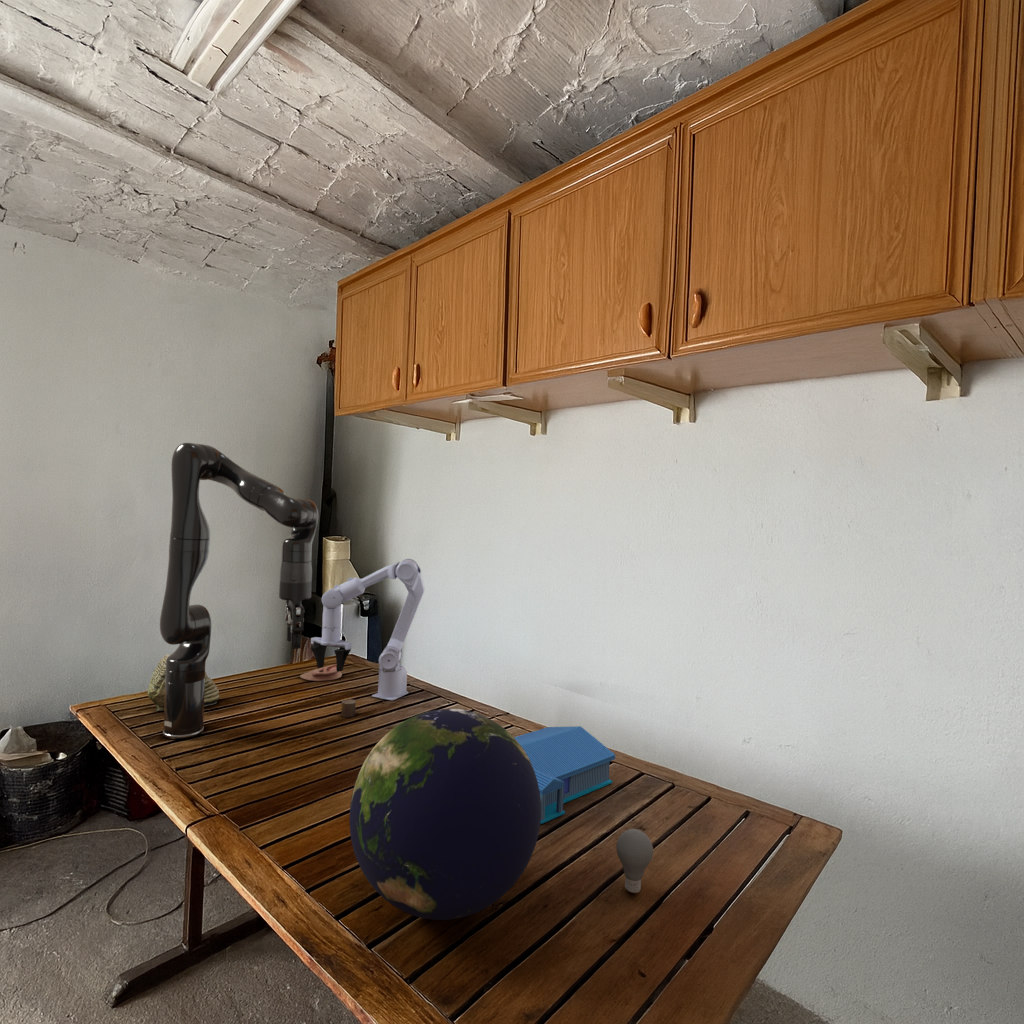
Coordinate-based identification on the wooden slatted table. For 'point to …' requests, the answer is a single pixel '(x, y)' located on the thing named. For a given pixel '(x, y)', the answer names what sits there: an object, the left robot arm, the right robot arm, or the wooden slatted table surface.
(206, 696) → the fossil
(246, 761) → the wooden slatted table surface
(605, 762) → the model building
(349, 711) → the can
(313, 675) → the anatomical model
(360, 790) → the globe
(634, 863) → the light bulb
